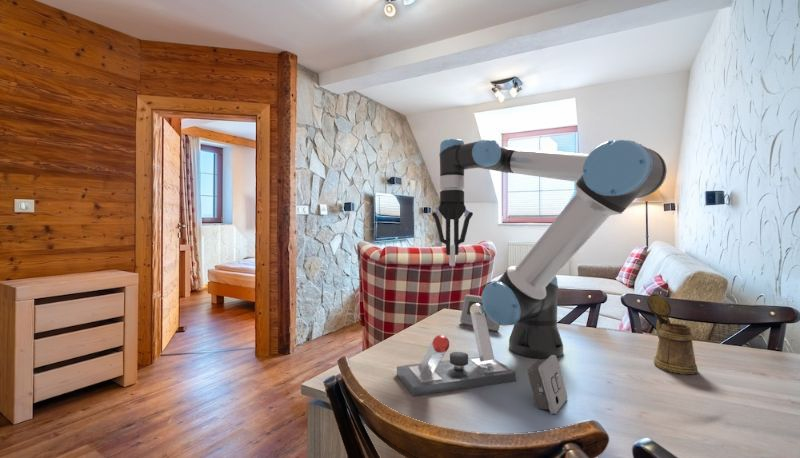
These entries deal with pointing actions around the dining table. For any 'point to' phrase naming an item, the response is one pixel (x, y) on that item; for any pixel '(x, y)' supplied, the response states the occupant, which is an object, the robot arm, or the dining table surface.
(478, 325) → the ivory knob lever
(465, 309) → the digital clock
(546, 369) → the electrical switch
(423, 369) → the red knob lever
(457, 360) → the black button
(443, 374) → the console
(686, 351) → the wooden mug
